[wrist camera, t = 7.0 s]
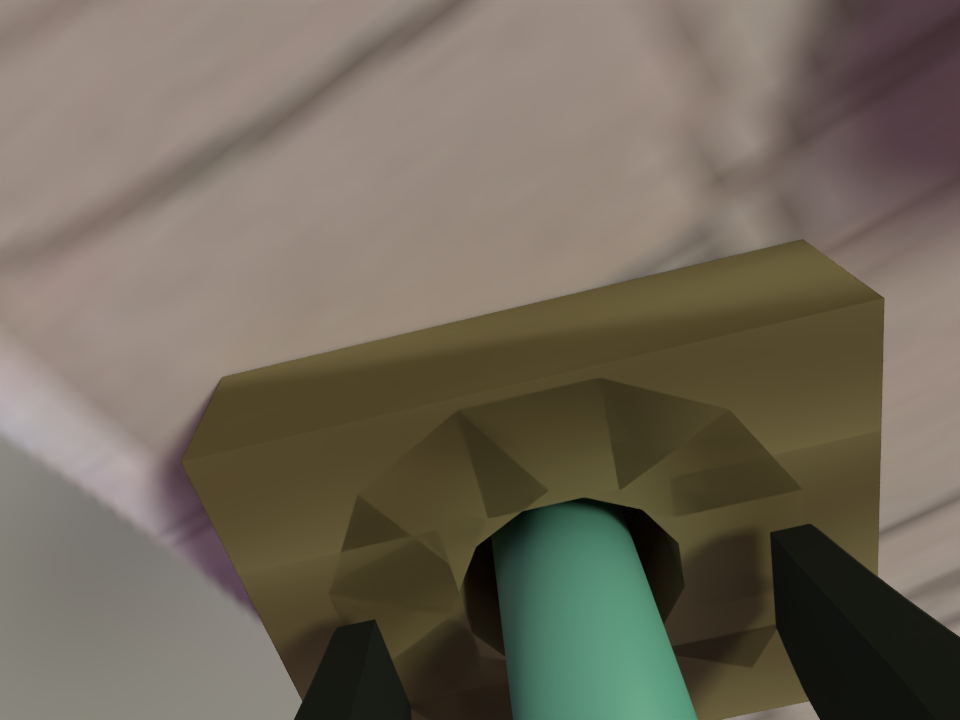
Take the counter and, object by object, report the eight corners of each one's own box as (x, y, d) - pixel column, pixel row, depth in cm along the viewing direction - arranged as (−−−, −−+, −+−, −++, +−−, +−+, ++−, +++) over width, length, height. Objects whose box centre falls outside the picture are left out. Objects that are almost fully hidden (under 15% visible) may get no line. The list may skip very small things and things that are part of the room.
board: (813, 588, 16) (874, 687, 14) (361, 686, 17) (351, 797, 14) (803, 239, 13) (883, 298, 10) (222, 376, 13) (180, 462, 11)
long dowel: (620, 524, 15) (742, 871, 9) (503, 554, 15) (552, 913, 9) (598, 426, 14) (720, 751, 8) (471, 460, 14) (506, 801, 8)
